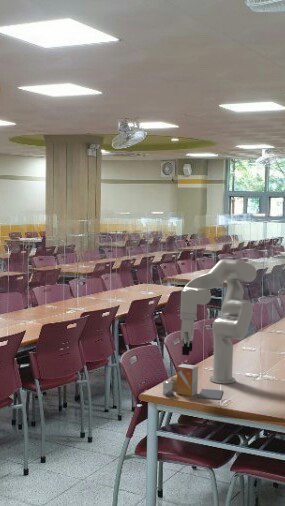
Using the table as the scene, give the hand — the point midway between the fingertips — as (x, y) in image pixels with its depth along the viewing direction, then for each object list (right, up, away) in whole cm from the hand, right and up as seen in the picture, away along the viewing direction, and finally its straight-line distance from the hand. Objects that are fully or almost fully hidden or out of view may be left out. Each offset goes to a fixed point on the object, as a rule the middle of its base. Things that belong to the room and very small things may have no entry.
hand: (187, 353), depth 298 cm
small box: (0, -19, +2) cm, 19 cm away
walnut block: (-4, -19, +10) cm, 21 cm away
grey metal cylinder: (-9, -19, -1) cm, 21 cm away
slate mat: (+11, -19, 0) cm, 22 cm away
